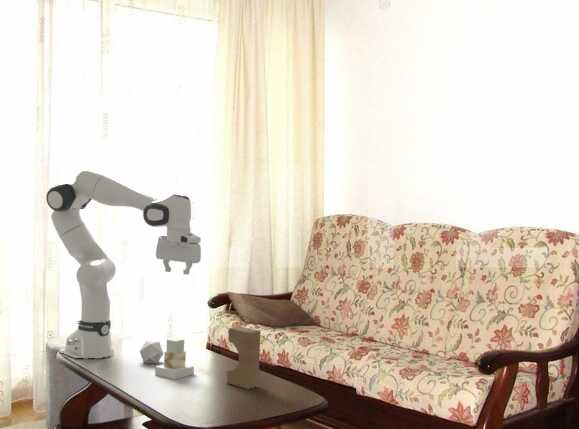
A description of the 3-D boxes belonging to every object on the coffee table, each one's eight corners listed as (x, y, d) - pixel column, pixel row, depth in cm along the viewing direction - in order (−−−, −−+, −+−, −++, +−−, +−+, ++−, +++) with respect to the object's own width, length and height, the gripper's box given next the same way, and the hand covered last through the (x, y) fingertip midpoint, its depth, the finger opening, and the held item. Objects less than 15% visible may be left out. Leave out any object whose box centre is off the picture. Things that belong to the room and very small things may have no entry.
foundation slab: (155, 374, 268) (155, 366, 268) (173, 369, 277) (174, 361, 277) (175, 379, 263) (175, 371, 263) (193, 374, 271) (194, 366, 271)
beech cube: (164, 366, 269) (164, 351, 269) (174, 363, 274) (174, 349, 273) (175, 369, 266) (175, 354, 266) (185, 366, 270) (185, 351, 270)
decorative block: (225, 383, 261) (227, 327, 260) (237, 380, 265) (239, 325, 264) (247, 390, 253) (249, 332, 252) (259, 387, 257) (261, 330, 257)
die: (151, 368, 280) (167, 346, 283) (132, 355, 281) (148, 333, 284) (154, 370, 288) (169, 349, 291) (136, 358, 289) (151, 337, 292)
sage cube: (166, 351, 269) (166, 339, 269) (174, 349, 273) (175, 337, 272) (175, 353, 266) (175, 341, 266) (183, 351, 270) (184, 339, 270)
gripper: (152, 235, 279) (151, 270, 280) (192, 239, 268) (191, 276, 268) (164, 234, 284) (163, 269, 285) (204, 238, 273) (202, 275, 273)
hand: (177, 273), depth 276 cm, fingers open, 8 cm apart
